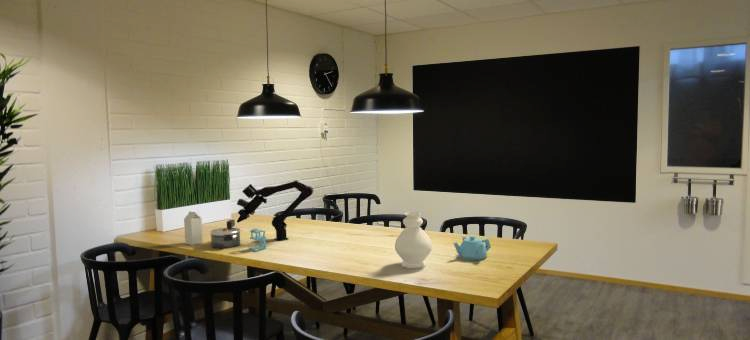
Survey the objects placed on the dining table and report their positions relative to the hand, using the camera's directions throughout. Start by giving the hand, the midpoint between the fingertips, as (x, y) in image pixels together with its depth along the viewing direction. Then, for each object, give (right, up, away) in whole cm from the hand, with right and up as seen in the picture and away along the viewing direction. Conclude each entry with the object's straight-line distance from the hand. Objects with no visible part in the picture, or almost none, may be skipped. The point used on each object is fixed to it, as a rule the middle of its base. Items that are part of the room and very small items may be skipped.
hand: (237, 222), depth 318 cm
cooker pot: (-4, -12, -9) cm, 16 cm away
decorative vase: (+101, -14, -63) cm, 120 cm away
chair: (+18, -13, -24) cm, 33 cm away
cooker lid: (-4, -5, -9) cm, 11 cm away
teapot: (+131, -13, -53) cm, 142 cm away
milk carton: (-25, -13, -4) cm, 28 cm away
